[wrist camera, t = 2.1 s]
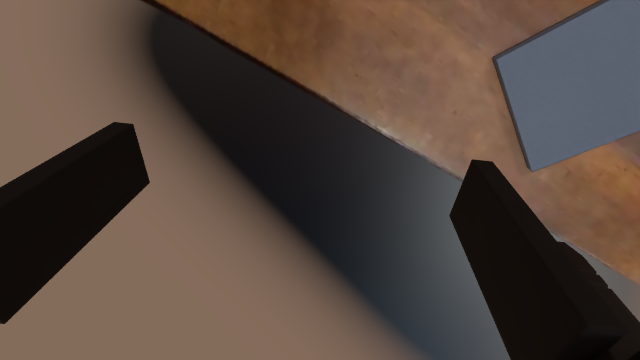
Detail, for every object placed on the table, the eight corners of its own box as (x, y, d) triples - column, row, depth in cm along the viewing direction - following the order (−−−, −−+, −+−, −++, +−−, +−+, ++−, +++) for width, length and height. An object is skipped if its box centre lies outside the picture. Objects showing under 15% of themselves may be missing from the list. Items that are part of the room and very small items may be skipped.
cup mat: (492, 57, 29) (496, 59, 28) (676, -40, 24) (688, -41, 23) (527, 167, 35) (531, 172, 34) (681, 107, 30) (690, 111, 29)
